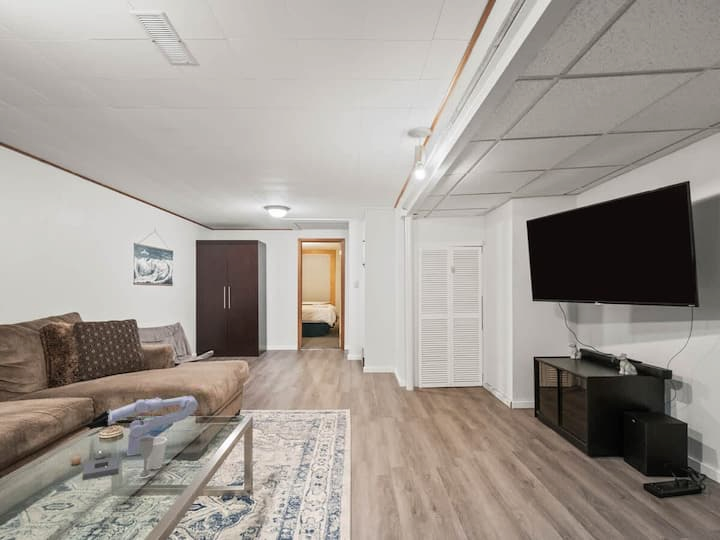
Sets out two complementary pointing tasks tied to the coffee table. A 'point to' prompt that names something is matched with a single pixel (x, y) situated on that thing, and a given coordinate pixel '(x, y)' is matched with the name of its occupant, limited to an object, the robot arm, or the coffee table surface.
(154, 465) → the foam cup
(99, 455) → the steel ball
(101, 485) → the coffee table surface
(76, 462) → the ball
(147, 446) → the chalice
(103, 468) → the grey square frame
